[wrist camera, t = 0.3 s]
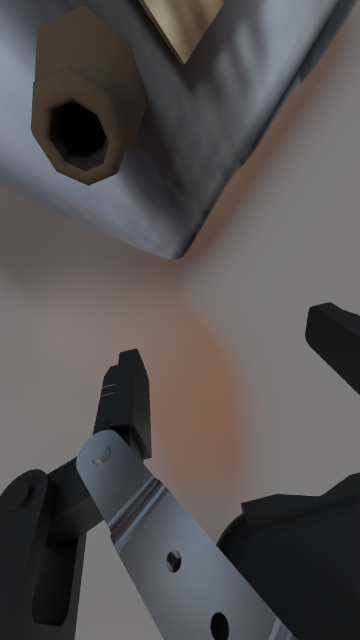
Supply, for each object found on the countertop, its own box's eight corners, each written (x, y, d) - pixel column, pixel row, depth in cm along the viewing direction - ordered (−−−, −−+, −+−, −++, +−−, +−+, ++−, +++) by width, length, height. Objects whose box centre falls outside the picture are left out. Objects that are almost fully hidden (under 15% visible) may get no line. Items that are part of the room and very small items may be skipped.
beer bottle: (89, -14, 19) (16, -199, 5) (151, 86, 25) (211, 152, 10) (42, 71, 22) (-94, 125, 8) (106, 144, 28) (101, 259, 13)
